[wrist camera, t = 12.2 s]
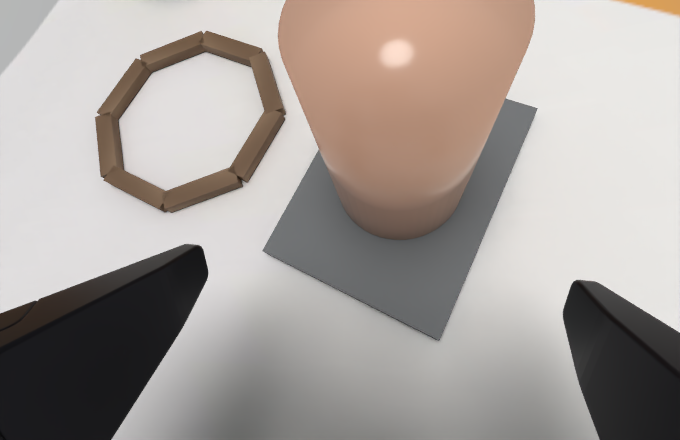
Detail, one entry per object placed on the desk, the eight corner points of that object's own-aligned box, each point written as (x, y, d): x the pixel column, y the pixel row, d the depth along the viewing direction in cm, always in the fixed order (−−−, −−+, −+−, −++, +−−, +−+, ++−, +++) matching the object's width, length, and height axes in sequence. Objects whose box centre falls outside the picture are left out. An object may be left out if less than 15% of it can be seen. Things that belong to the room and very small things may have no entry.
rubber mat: (438, 340, 16) (439, 340, 15) (266, 253, 18) (262, 250, 18) (533, 115, 18) (537, 108, 18) (371, 65, 21) (370, 58, 20)
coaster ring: (214, 237, 19) (208, 234, 18) (71, 163, 22) (62, 159, 21) (313, 71, 21) (310, 64, 21) (171, 24, 24) (165, 17, 24)
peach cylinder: (433, 261, 16) (476, 163, 7) (316, 209, 18) (234, 77, 9) (482, 149, 17) (571, -51, 9) (369, 110, 19) (344, -92, 10)
